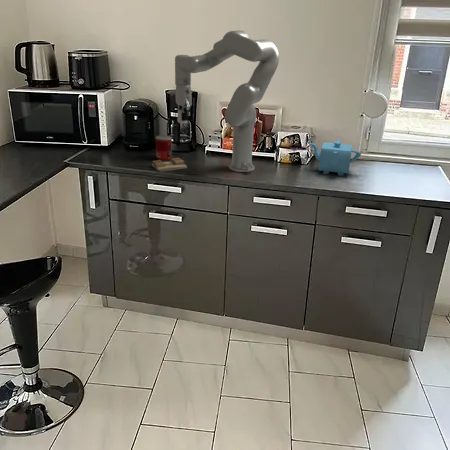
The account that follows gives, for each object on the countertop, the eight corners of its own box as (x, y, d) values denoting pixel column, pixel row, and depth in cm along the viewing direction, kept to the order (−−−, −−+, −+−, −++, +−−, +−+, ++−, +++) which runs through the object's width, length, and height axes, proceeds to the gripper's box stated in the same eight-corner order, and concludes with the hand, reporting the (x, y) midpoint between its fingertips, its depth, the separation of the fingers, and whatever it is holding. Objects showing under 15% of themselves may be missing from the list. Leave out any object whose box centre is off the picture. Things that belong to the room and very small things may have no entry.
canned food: (170, 160, 244) (170, 139, 239) (155, 160, 244) (154, 138, 239) (172, 156, 251) (172, 135, 246) (157, 155, 251) (156, 134, 246)
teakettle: (360, 175, 234) (365, 145, 228) (331, 180, 225) (335, 149, 219) (334, 164, 248) (338, 135, 242) (305, 168, 240) (308, 139, 234)
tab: (187, 123, 244) (188, 109, 241) (180, 123, 242) (180, 109, 240) (184, 121, 247) (185, 108, 244) (177, 121, 245) (178, 108, 242)
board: (187, 168, 234) (187, 163, 233) (160, 171, 228) (159, 166, 227) (178, 162, 242) (178, 157, 241) (152, 165, 236) (152, 160, 235)
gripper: (197, 84, 231) (197, 122, 239) (182, 79, 245) (183, 115, 252) (183, 84, 228) (183, 123, 236) (169, 79, 241) (169, 116, 249)
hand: (183, 119), depth 244 cm, fingers closed on tab, 3 cm apart
